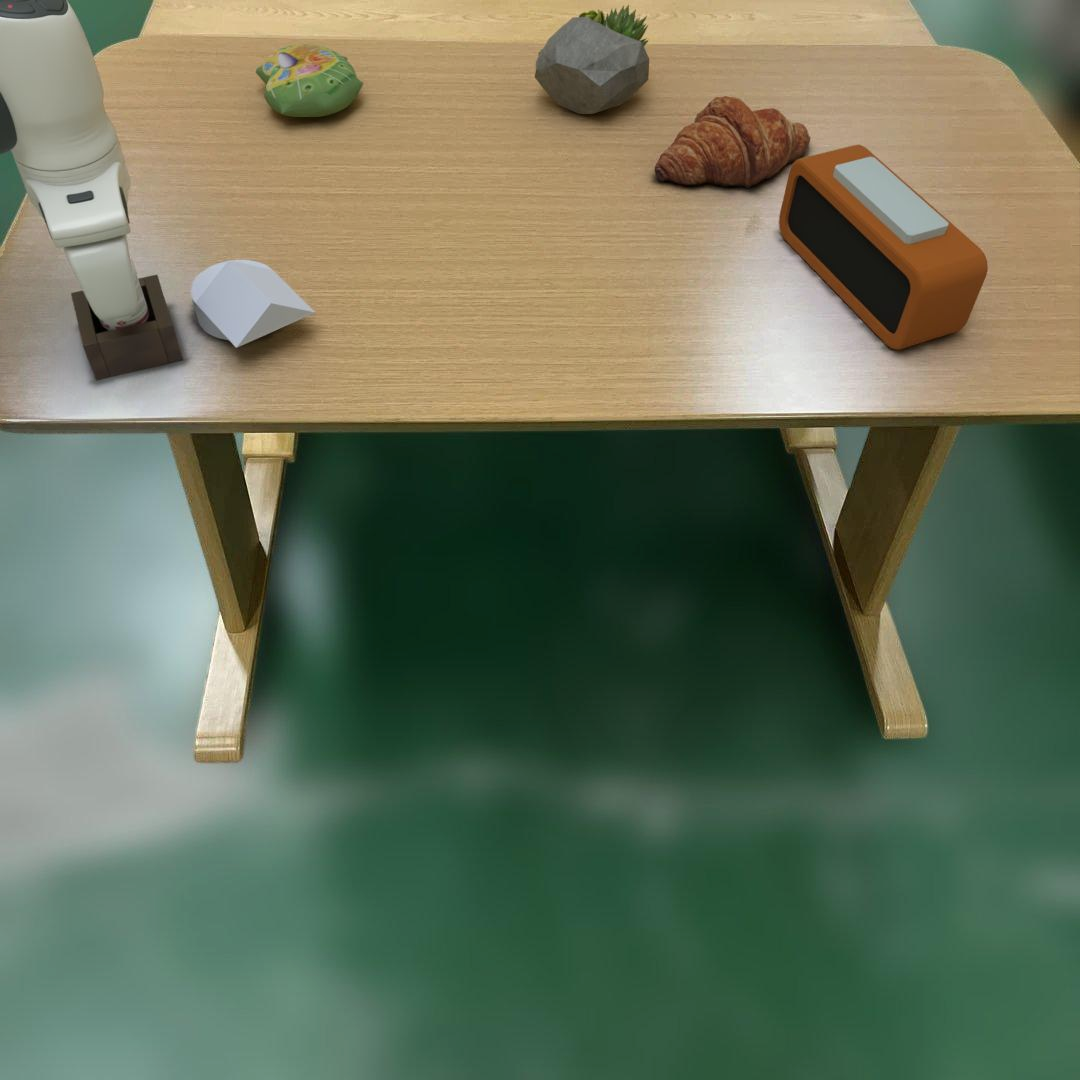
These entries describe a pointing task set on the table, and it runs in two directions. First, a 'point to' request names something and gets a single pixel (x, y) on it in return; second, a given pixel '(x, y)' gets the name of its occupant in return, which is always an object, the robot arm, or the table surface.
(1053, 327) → the table surface
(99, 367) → the socket
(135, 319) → the pill bottle
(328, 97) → the educational model
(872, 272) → the alarm clock
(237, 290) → the wedge on round base
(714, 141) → the pastry
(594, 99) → the potted plant
